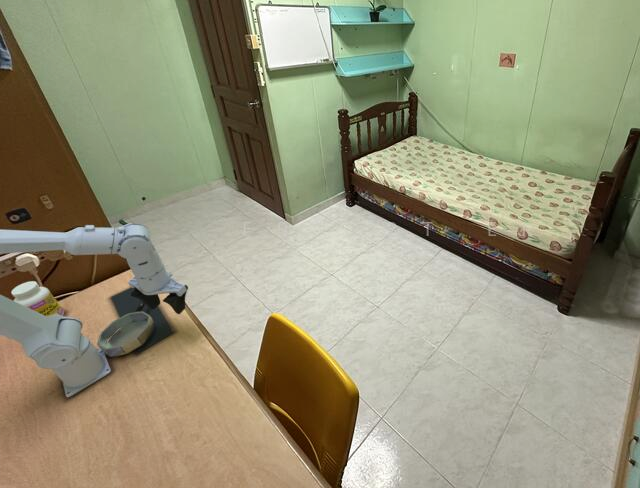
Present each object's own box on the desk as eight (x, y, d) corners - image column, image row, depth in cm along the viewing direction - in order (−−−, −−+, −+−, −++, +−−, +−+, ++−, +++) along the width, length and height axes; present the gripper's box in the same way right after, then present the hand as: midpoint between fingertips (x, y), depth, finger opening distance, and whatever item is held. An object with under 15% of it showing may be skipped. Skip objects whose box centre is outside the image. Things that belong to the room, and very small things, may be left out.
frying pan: (136, 301, 95) (129, 291, 93) (176, 295, 97) (171, 285, 94) (95, 363, 78) (86, 352, 76) (145, 354, 80) (137, 344, 78)
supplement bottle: (44, 332, 85) (17, 299, 79) (25, 327, 87) (-3, 295, 80) (71, 312, 91) (48, 280, 85) (53, 308, 92) (29, 276, 86)
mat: (111, 297, 96) (110, 297, 96) (143, 282, 102) (143, 281, 102) (137, 354, 80) (136, 353, 80) (173, 332, 86) (173, 332, 86)
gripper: (188, 263, 78) (204, 300, 84) (138, 255, 80) (157, 292, 86) (164, 284, 71) (183, 323, 78) (111, 274, 74) (134, 313, 80)
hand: (168, 308), depth 82 cm, fingers open, 7 cm apart
